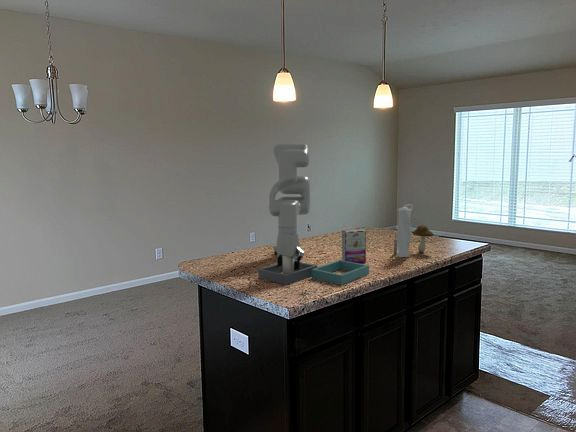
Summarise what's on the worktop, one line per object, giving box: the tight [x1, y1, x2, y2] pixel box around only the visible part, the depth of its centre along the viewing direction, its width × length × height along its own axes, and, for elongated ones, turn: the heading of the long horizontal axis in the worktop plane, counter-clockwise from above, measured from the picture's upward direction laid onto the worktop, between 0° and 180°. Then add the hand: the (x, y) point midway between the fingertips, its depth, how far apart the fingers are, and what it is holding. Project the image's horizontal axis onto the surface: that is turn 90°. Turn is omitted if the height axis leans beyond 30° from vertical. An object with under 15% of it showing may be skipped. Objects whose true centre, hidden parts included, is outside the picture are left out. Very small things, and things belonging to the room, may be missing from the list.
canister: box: [282, 256, 295, 275], centre depth 205 cm, size 5×5×10 cm
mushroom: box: [412, 224, 434, 253], centre depth 250 cm, size 9×11×15 cm
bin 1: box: [257, 261, 318, 286], centre depth 205 cm, size 16×22×4 cm
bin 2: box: [311, 259, 370, 286], centre depth 205 cm, size 16×22×4 cm
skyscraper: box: [392, 203, 414, 259], centre depth 241 cm, size 8×8×28 cm
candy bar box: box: [341, 228, 367, 264], centre depth 229 cm, size 11×5×16 cm, turn 105°
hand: (288, 267), depth 205 cm, fingers open, 9 cm apart
